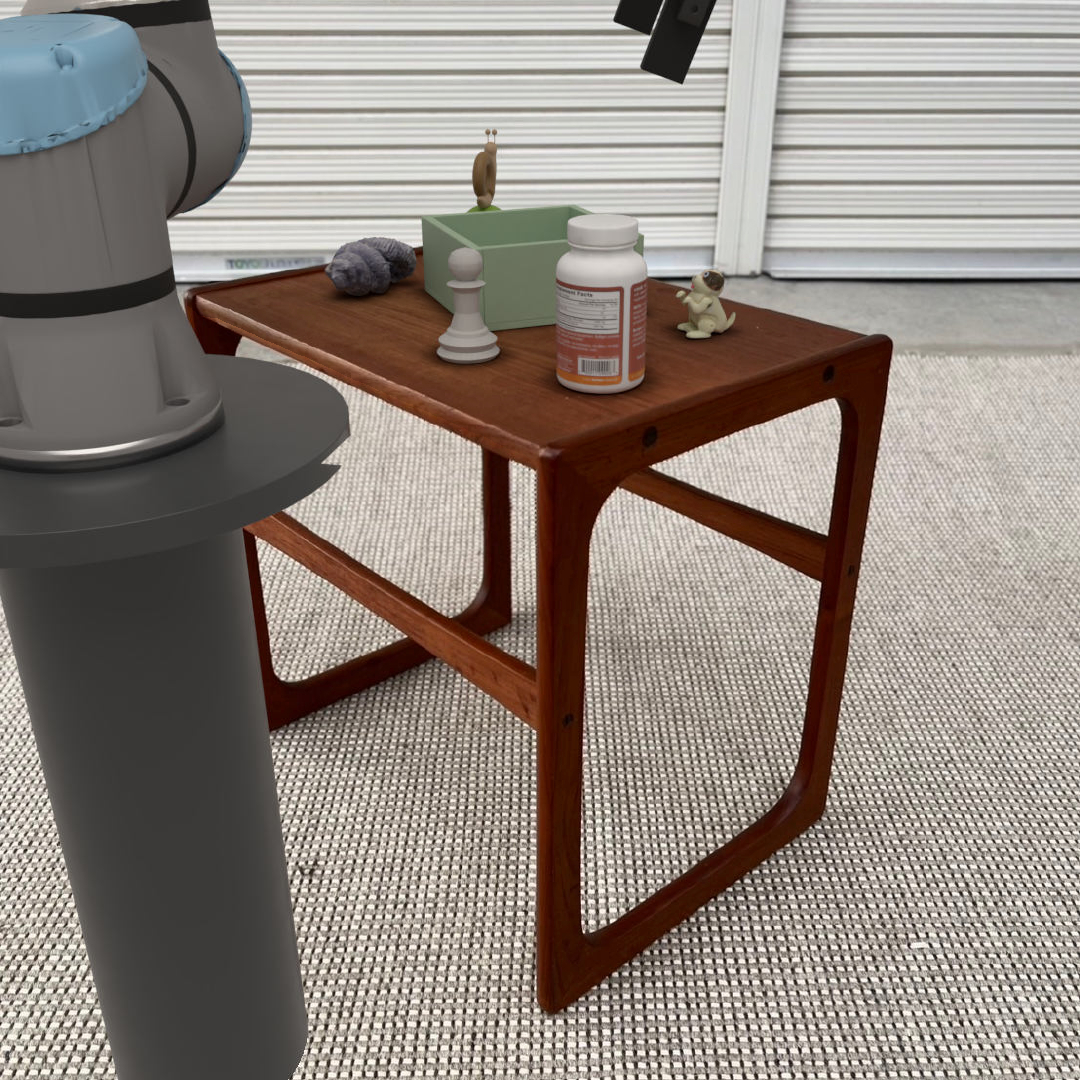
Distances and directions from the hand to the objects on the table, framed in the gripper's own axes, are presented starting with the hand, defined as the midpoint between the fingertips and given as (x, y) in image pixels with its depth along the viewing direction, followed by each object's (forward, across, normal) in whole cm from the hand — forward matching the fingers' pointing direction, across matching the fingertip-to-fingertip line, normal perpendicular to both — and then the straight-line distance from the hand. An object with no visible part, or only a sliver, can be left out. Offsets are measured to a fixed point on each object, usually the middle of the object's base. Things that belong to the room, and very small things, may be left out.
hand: (644, 50), depth 75 cm
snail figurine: (+28, +31, +1) cm, 42 cm away
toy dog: (+19, +4, -14) cm, 23 cm away
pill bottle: (+20, -8, -4) cm, 22 cm away
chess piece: (+24, -1, +4) cm, 25 cm away
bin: (+24, +14, -2) cm, 28 cm away
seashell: (+30, +19, +11) cm, 37 cm away
